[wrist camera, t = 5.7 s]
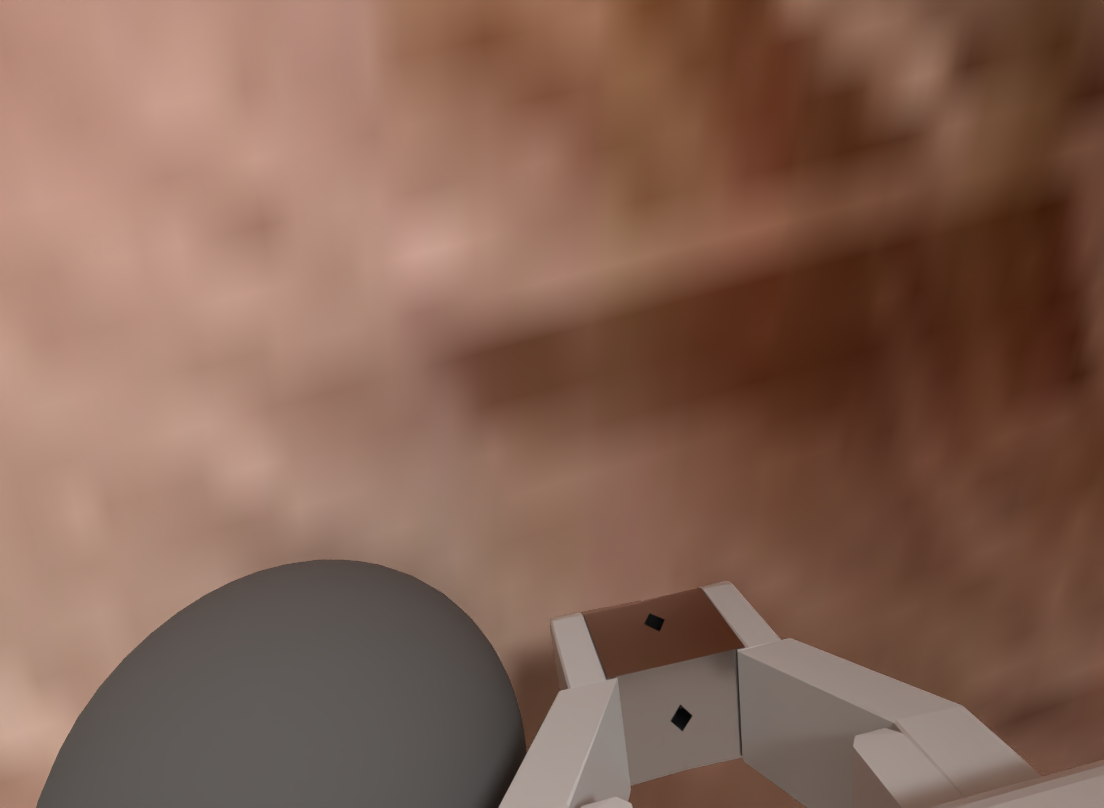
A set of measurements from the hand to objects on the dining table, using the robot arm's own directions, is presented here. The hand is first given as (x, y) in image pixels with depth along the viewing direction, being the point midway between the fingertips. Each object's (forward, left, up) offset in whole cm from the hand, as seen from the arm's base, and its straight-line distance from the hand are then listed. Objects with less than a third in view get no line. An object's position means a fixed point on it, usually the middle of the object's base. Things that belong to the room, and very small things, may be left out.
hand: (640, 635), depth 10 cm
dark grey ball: (+5, 0, +1) cm, 5 cm away
